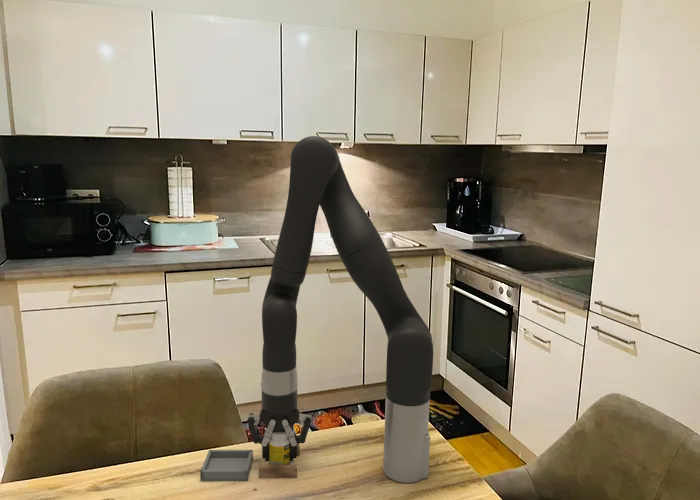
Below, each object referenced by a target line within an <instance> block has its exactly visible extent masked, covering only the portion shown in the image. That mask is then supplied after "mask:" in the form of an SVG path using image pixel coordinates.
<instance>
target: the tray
mask: <svg viewBox="0 0 700 500" xmlns="http://www.w3.org/2000/svg"><path fill="white" fill-rule="evenodd" d="M253 460H254V449H209V450H208V452H207V454H206V457H205V459H204V461H203V463H202V467H201V469H200V472H199V474H200V482H248V480H249V476H250V473H251V472H250V471H251V468H252V464H253Z"/></svg>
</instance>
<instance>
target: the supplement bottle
mask: <svg viewBox="0 0 700 500" xmlns="http://www.w3.org/2000/svg"><path fill="white" fill-rule="evenodd" d="M290 445H291V442H290V440H289V438H288V436H287V434H286V432H272V433H271V436H270V438H269V461H268V465H292V464H291V463H292V461H290Z"/></svg>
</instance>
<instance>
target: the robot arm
mask: <svg viewBox="0 0 700 500" xmlns="http://www.w3.org/2000/svg"><path fill="white" fill-rule="evenodd" d="M289 165H290V166H289V167H290V169H289V184H288V185H289V186H288V194H287V201H286V207H285V212H284V217H283V222H282V224H281V225H282V226H281V228H280V232H279V236H278V240H277V244H276V248H275V252H274V255H273V256H274V257H273V261H272V264H271V272H270V278H269V281H268V283H267V287H266V290H265V294H264V297H263V301H262V307H261V308H262V309H261V324H262V326H261V327H262V329H261V330H262V339H263V345H262V358H261V359H262V361H261V362H262V371H261V382H260V387H261V410H260V412H259V413H252V412H251V413H249V414H248V417H247V421H246V422H247V425H248V430H249V432H250V436H251V439H252V442H253V444H255V445H257V444H259V445H261V447H262V450H261V455H262V456H261V457H262V459H264V460H265V462H269V439H270V437H271V433H272V432H286V434H287V436H288V438H289V440H290V442H291V445H290V461H291V462H294V461H295V460H294V459H297V457H298V456H297V445H298V444H303V445H304V443H306V440H307V437H308V433H309V429H310V426H311V423H312V414H311V413H310V412H308V413H306V414H304V413H300V411H299V409H298V371H297V346H296V345H297V344H296V339H297V326H298V311H297V303H298V302H297V301H298V298H299V297H298V296H299V293H300V288H301V285H303V282H304V280H305V278H306V274H307V271H308V267H309V262H310V258H311V253H312V248H313V244H314V243H313V242H314V238H315V237H314V235H315V229H316V222H317V216H318V212H319V208H321V211H322V212H323V215H324V217H325V221H326V224H327V226H328V230H329V233H330V237H331V239H332V242H333V245H334V246H335V249H336V251H337V253H338V256H339V258H340V259H341V262H342V264H343V265H344V267H345V269H346V272H347V273H348V275H349V277H350V278H351V280H352V281H353V282H354V283H355V285H356V286H357V287H358V289H359V290H360V291H361V292H362V294H363V295H364V296H365V297H366V299H368V300H369V302H370V303H371V304H372V306H373V307H374V309H375V311H376V313H377V314H378V316H379V319H380V321H381V323H382V325H383V327H384V328H383V329H384V331H385V334H386V336H387V346H386V347H387V348H386V367H385V368H386V371H385V372H386V373H385V404H384V405H385V411H384V434H383V435H384V437H383V439H384V440H383V458H382V459H383V460H382V463H383V468H382V470H383V473H384V474H385V475H386V476H387V478H389V479H391V480H393V481H395V482H397V483H405V484H410V483H411V484H412V483H416V482H419V481H422V480H424V479H428V478H429V467H430V447H431V436H430V433H429V423H430V422H429V420H430V403H431V402H430V401H431V390H432V385H433V384H432V381H433V370H434V369H433V368H434V343H433V338H432V333H431V331H430V329H429V327H428V326H427V324H426V323H425V321H424V319H423V318H422V316H421V315H420V313H419V312H418V311H417V309H416V308H415V306H414V304H413V303H412V301H411V300H410V298H409V296H408V295H407V292H406V291H405V289H404V286H403V284H402V280H401V278H400V276H399V273H398V271H397V268H396V266H395V264H394V262H393V259H392V257H391V255H390V253H389V251H388V248H387V247H386V245H385V243H384V241H383V238H382V237H381V235H380V233H379V231H378V230H377V228H376V227H375V225H374V223H373V222H372V220H371V218H370V217H369V216H368V214H367V212H366V211H365V209H364V208H363V207H362V206H363V205H361V203H360V202H359V200H358V199H357V198H356V196H355V194H354V191H353V190H352V188H351V186H350V184H349V180H348V179H347V176H346V174H345V171H344V169H343V165H342V163H341V160H340V156H339V154H338V151H337V149H336V148H335V146H334V145H333V144H332V143H331V142H330V141H329V140H327V139H326V138H324V137H321V136H317V135H311V136H310V135H309V136H306V137H304V138H302V139H300V140H299V141H297V142H296V143H295V145H294V147H293V148H292V150H291V153H290V164H289ZM298 420H299V421H300V425H301V426H302V427H301V430H300V434H297V432H296V429H295V426H294V425H295V424H296V423H297V421H298ZM260 421H261V422H262V424H263V425H264V426H265V427H266V428H265V431H264V433H263V435H262V434H260V429H259V426H258V424H259V422H260Z"/></svg>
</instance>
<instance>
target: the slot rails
mask: <svg viewBox="0 0 700 500" xmlns="http://www.w3.org/2000/svg"><path fill="white" fill-rule="evenodd" d="M300 444H301V443H299V444H298V445H297V457H300V450H301V448H300V447H301V446H300ZM258 479H298V464H297V463H296V464H291V465H269V464H258Z"/></svg>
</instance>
